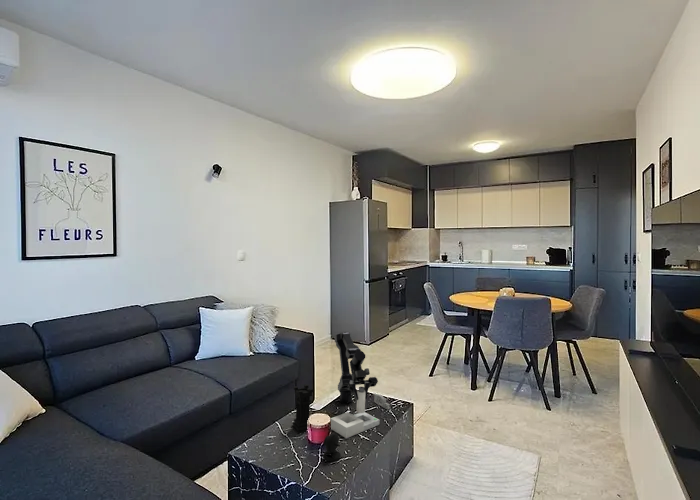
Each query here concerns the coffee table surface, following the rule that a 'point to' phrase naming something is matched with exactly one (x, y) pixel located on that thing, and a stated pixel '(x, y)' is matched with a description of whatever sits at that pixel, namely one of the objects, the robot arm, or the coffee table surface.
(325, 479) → the coffee table surface
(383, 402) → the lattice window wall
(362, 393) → the plug
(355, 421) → the jack housing
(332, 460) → the webcam
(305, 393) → the chess piece
